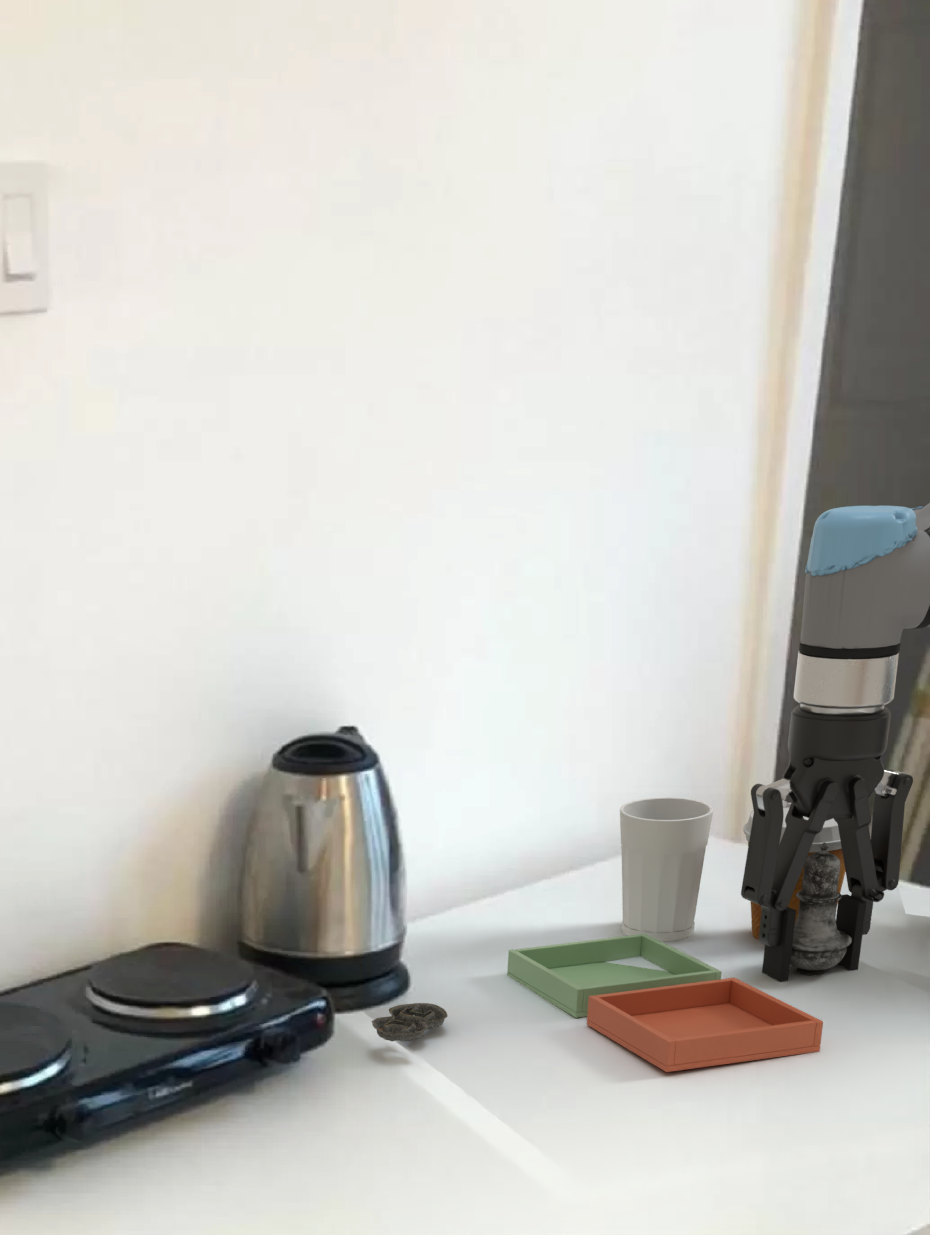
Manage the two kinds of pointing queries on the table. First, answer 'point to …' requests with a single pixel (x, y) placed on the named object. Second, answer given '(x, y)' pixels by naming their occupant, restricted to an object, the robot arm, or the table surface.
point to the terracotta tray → (703, 1024)
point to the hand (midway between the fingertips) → (809, 975)
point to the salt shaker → (818, 917)
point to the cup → (662, 865)
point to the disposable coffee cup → (826, 835)
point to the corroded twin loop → (409, 1021)
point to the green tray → (601, 969)
